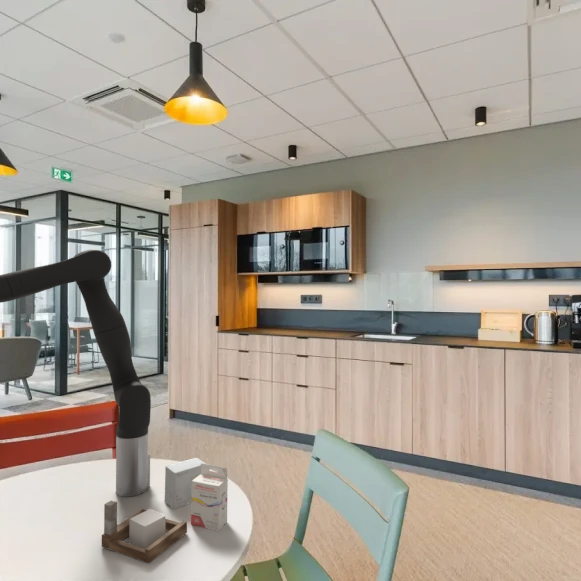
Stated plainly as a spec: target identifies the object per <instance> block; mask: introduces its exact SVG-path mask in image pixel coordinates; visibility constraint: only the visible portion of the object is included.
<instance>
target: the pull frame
mask: <svg viewBox="0 0 581 581" xmlns="http://www.w3.org/2000/svg"><path fill="white" fill-rule="evenodd" d="M103 509H104V510H103V512H104V515H103V516H104V517H103V518H104V520H103V524H104V525H103V528H104V530H103V534H101V548H104V549H107V550H110V551H114V552H115V553H119V554H122V555H124V556H127V557H130V558H133V559H136V560H139V561H142V562H145V563H148V564H150V563H151V562H152V561H153V560H154V559H156V558H157V557H158V556H160V555H161V554H162V553H163V552H165V551H167V549H169V548H170V547H171V546H173V545H174V544H175V543H176V542H177V541H179V540H180V539H181V538H182V537H183V536H185V535H186V534H187V533H188V521H187V520H182V521H180V522H179V521H175V520H172V519H169V518H166V521H165V531H168V532H165V535H163V536H162V537H161V538H159V539H158V540H157V541H155V542H154V543H153V544H151V545H150V546H149V547H147V548H146V549H145V548H142V547H139V546H136V545H132V544H130V543H129V542H126V541H124V540H125V539H126V538H128V537H129V526H130V518H132V517H135V516H137V515H139V514H141V513H143V512H145V511H147V510H148V509H144V508H142V509H141V510H139V511H138V512H136V513H134V514H133V515H131V516H130V517H128V518H127V519H125V520H123V521H121V522H120V523H119V524H118V501H115V500H109V501H107V502H106V503H104V508H103Z"/></svg>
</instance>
